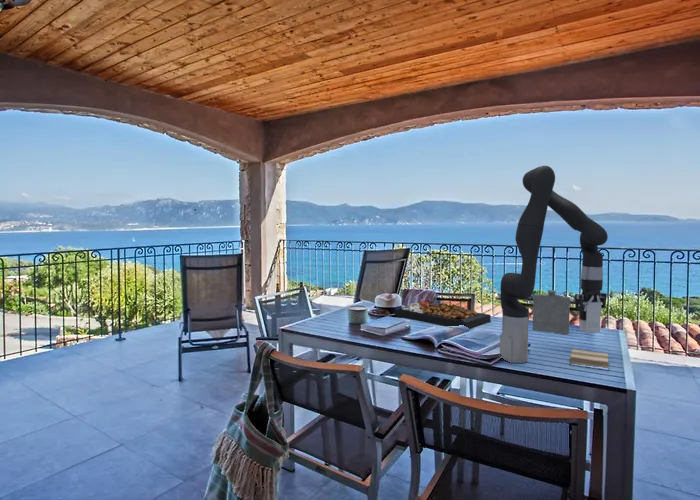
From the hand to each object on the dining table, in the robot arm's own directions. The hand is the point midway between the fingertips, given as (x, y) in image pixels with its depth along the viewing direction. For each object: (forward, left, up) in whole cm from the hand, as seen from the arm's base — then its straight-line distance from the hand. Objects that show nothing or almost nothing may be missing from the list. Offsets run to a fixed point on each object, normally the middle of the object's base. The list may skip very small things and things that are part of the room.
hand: (590, 319), depth 170 cm
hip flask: (+12, +32, -14) cm, 37 cm away
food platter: (-23, +74, -15) cm, 79 cm away
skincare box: (0, 0, -5) cm, 5 cm away
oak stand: (-10, -9, -14) cm, 19 cm away
